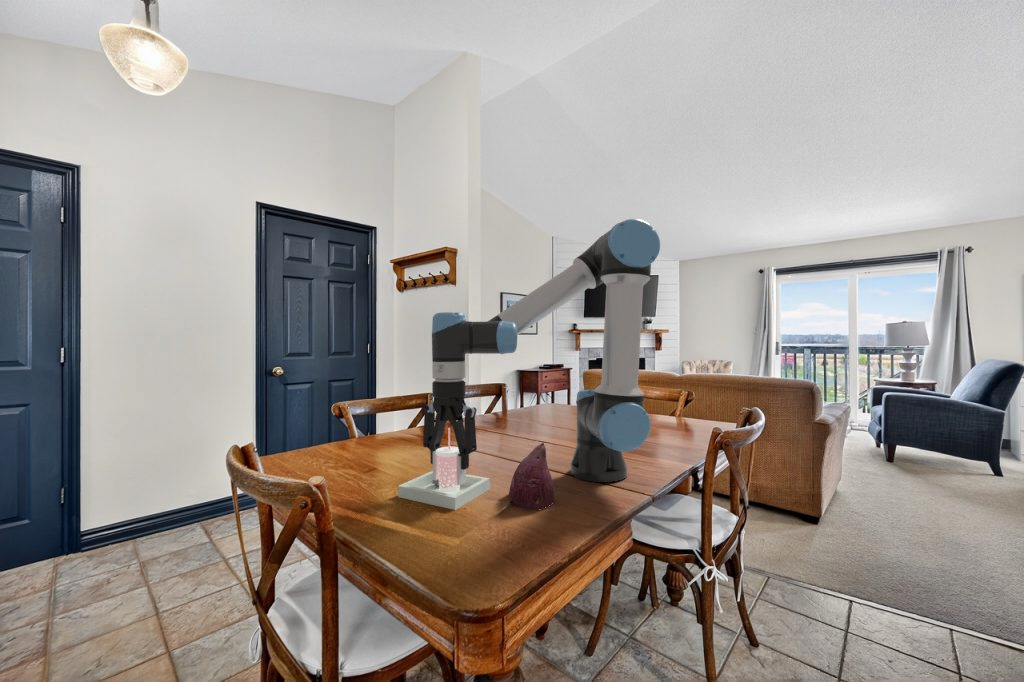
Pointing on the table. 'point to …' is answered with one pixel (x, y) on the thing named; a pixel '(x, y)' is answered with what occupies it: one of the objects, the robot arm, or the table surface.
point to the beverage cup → (447, 467)
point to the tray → (430, 493)
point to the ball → (436, 482)
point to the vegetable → (532, 482)
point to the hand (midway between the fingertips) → (449, 480)
